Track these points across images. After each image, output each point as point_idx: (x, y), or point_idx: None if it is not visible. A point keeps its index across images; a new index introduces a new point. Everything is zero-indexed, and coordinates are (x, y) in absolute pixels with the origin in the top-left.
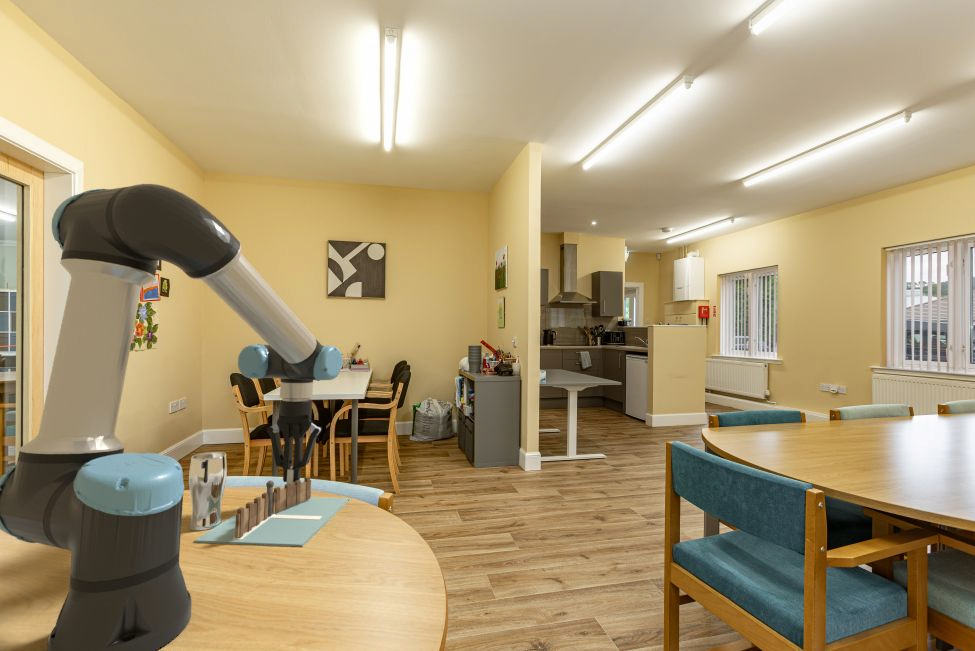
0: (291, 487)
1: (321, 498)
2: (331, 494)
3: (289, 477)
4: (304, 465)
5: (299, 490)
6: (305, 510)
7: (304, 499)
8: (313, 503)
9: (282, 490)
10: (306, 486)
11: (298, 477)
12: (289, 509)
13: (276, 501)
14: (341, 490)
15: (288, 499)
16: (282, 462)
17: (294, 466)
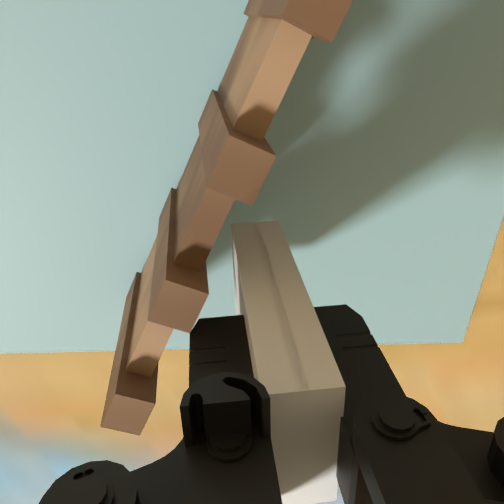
0: (203, 190)
1: (57, 335)
2: (51, 423)
3: (287, 322)
4: (63, 486)
5: (157, 254)
6: (38, 81)
7: (146, 266)
8: (62, 240)
9: (260, 60)
10: (129, 338)
11: (190, 358)
12: (192, 101)
13: None
14: (24, 484)
15: (208, 118)
16: (488, 493)
17: (246, 444)
